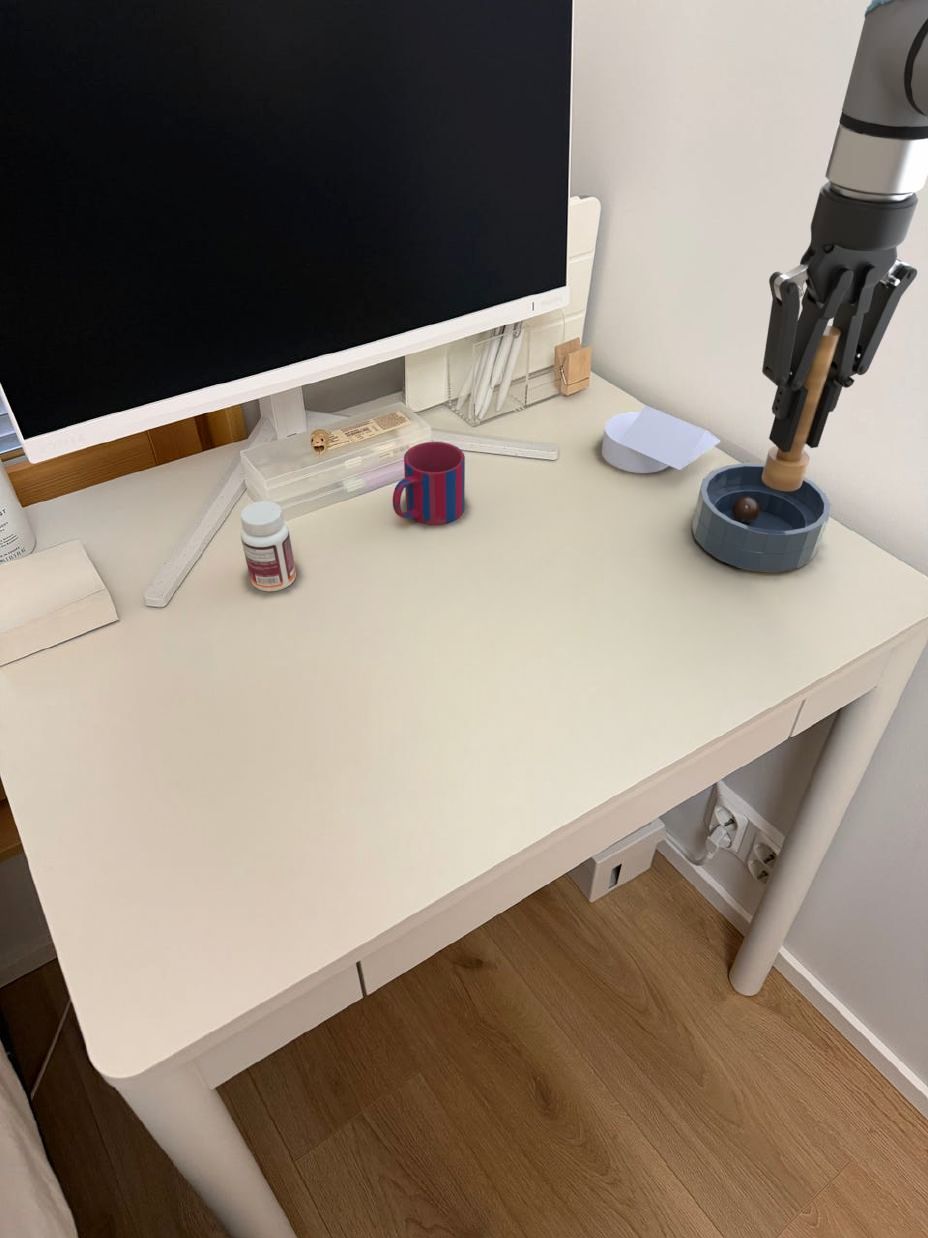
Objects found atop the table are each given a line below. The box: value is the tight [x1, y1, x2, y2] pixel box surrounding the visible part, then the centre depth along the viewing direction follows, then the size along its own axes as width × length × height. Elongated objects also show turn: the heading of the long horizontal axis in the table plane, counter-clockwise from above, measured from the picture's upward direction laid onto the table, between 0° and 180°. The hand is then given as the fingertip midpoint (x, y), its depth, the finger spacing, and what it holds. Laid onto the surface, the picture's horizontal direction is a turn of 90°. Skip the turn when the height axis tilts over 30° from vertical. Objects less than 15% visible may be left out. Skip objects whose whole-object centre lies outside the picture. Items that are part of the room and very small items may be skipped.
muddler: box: [762, 324, 841, 491], centre depth 82 cm, size 4×4×16 cm
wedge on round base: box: [601, 404, 722, 474], centre depth 105 cm, size 9×7×13 cm
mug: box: [392, 441, 466, 526], centre depth 96 cm, size 7×10×7 cm
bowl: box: [691, 462, 832, 573], centre depth 93 cm, size 13×13×6 cm
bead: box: [732, 496, 760, 524], centre depth 95 cm, size 3×3×3 cm
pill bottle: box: [239, 500, 297, 592], centre depth 87 cm, size 5×5×8 cm
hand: (793, 442), depth 85 cm, fingers closed on muddler, 2 cm apart
